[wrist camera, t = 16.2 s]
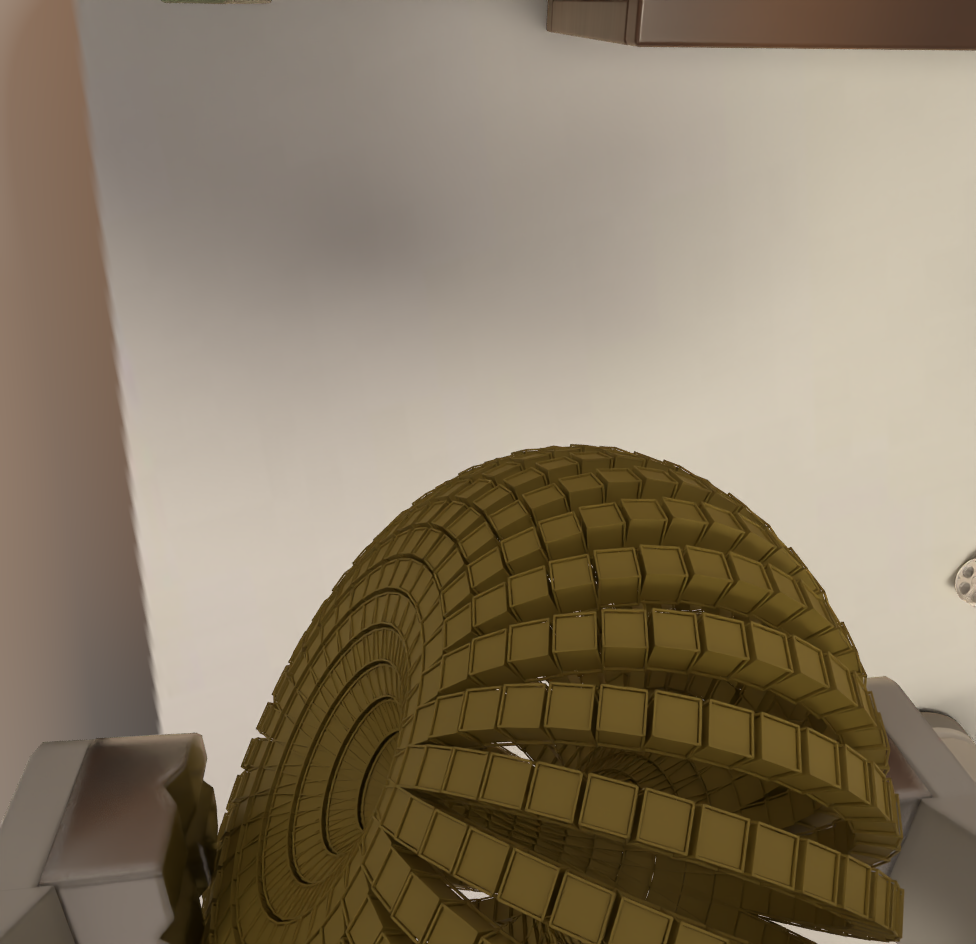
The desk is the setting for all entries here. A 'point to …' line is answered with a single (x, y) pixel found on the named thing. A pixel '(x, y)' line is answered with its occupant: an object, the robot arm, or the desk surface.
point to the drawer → (218, 1)
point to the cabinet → (771, 23)
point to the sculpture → (566, 731)
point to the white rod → (967, 582)
